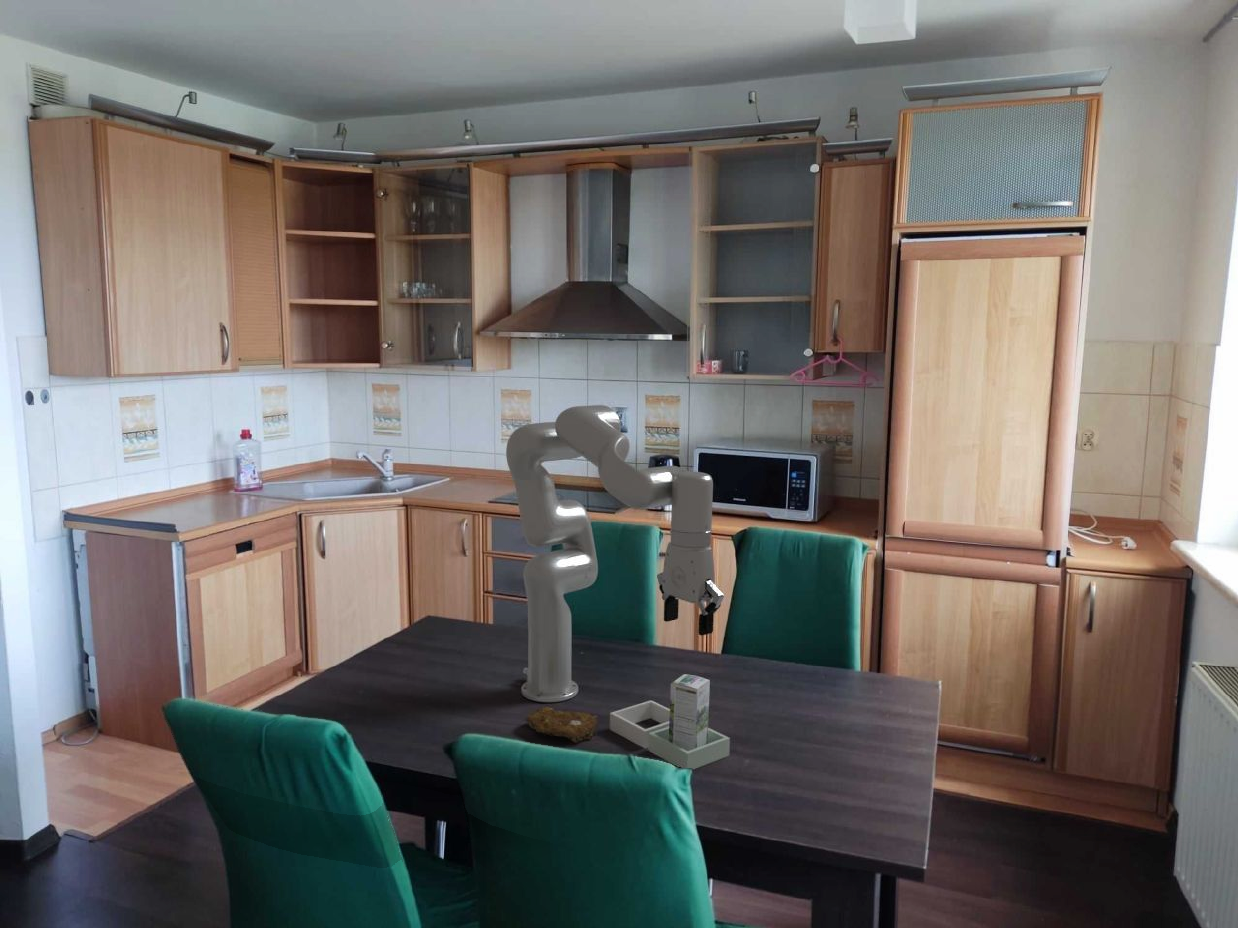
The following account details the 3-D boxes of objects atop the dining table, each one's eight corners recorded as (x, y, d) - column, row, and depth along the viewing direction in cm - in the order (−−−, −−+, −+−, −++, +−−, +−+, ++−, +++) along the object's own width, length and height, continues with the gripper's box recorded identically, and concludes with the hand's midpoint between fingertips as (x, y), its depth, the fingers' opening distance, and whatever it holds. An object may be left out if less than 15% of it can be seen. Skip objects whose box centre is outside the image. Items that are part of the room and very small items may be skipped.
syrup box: (680, 743, 179) (682, 672, 177) (708, 750, 176) (710, 678, 174) (667, 755, 174) (669, 681, 172) (696, 762, 171) (697, 688, 169)
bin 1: (609, 729, 185) (610, 712, 185) (650, 716, 192) (651, 700, 192) (644, 748, 177) (645, 731, 176) (686, 733, 184) (686, 717, 183)
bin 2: (648, 750, 176) (648, 733, 176) (690, 735, 183) (690, 719, 182) (687, 771, 168) (687, 753, 167) (729, 755, 174) (729, 737, 174)
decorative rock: (515, 742, 181) (588, 752, 177) (515, 722, 180) (589, 733, 177) (532, 716, 191) (602, 725, 188) (533, 697, 191) (603, 707, 188)
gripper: (645, 532, 175) (643, 618, 178) (708, 550, 162) (705, 643, 164) (675, 527, 180) (672, 611, 182) (738, 544, 167) (734, 635, 169)
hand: (687, 626), depth 173 cm, fingers open, 9 cm apart
